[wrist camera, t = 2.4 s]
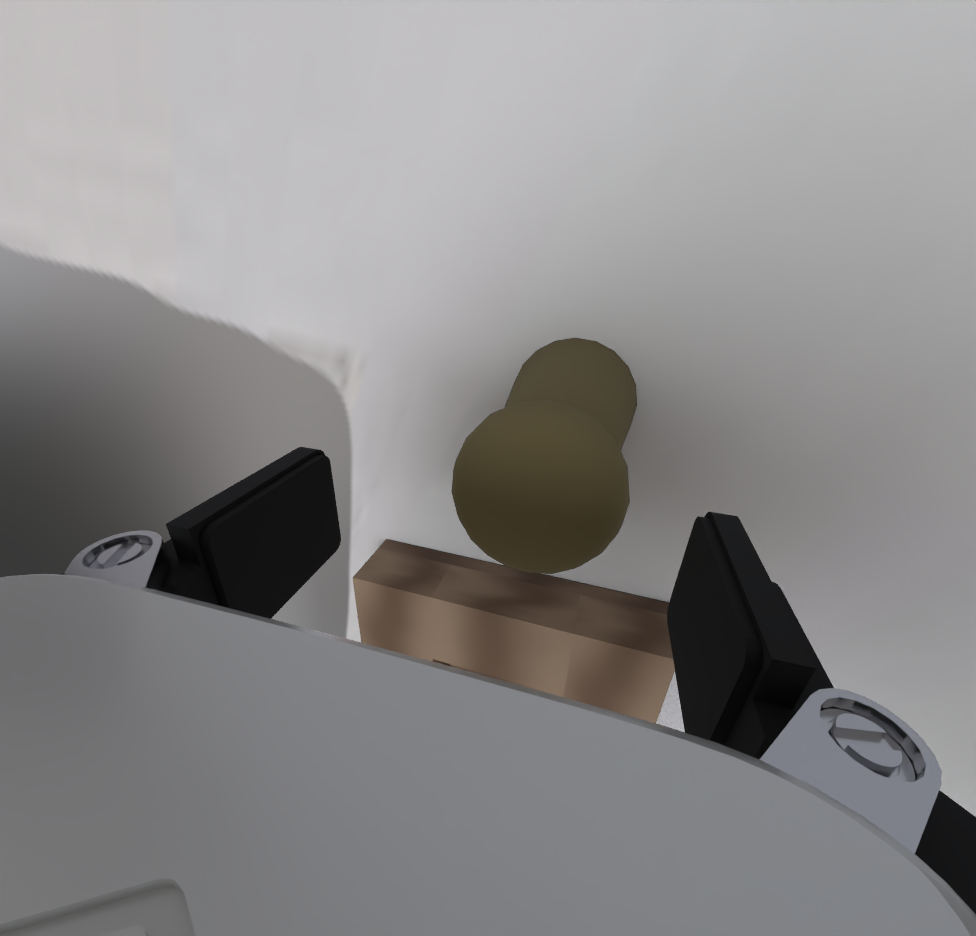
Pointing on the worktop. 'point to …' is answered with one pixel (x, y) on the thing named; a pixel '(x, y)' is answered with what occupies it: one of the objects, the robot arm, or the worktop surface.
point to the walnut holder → (518, 627)
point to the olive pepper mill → (550, 461)
